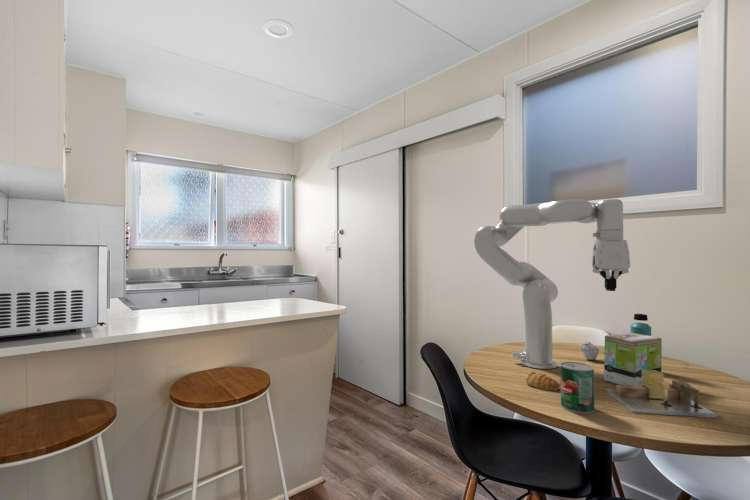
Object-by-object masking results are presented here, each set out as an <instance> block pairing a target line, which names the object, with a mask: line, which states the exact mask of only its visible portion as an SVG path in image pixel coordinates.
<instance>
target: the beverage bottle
mask: <svg viewBox="0 0 750 500" xmlns="http://www.w3.org/2000/svg"><path fill="white" fill-rule="evenodd" d="M648 318H649V317H648V315H647V314H646V313H644V314H643V313H634V314H633V320H634V321H644V322H645V321H646V322H647V321H648V320H649V319H648ZM644 322H633V323H632V324H630V333H636V334H641V335H647V336H652V326H650V324H648V323H644Z"/></svg>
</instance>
